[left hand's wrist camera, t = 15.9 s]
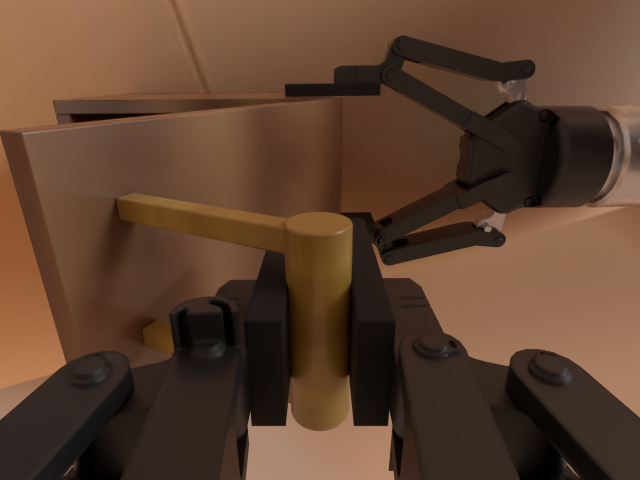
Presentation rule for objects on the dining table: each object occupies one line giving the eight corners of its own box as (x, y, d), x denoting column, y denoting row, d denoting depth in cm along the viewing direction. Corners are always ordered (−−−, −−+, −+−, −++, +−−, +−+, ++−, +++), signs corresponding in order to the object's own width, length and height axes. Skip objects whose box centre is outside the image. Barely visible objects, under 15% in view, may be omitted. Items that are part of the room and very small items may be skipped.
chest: (146, 199, 38) (85, 243, 28) (128, 93, 35) (52, 100, 25) (328, 197, 38) (334, 239, 28) (328, 92, 35) (334, 97, 25)
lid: (83, 425, 13) (304, 550, 10) (-2, 130, 10) (291, 156, 6) (328, 241, 28) (451, 264, 24) (328, 98, 25) (471, 100, 21)
